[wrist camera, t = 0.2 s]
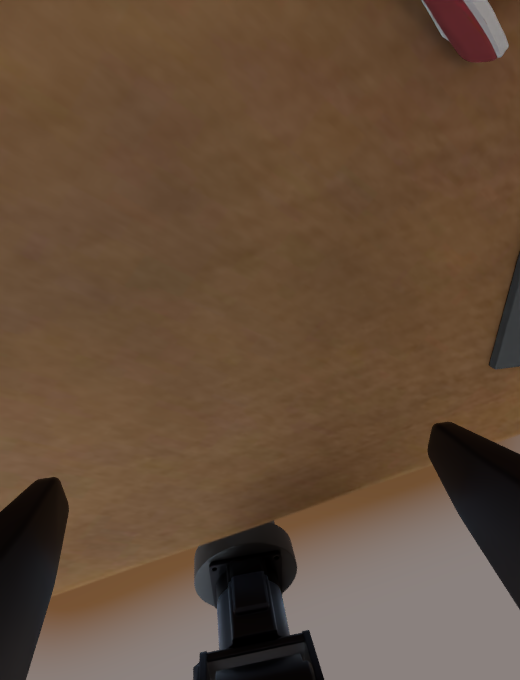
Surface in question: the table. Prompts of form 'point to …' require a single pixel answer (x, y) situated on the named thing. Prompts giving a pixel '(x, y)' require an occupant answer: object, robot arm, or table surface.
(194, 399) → the table surface
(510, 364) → the mat
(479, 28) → the knife
